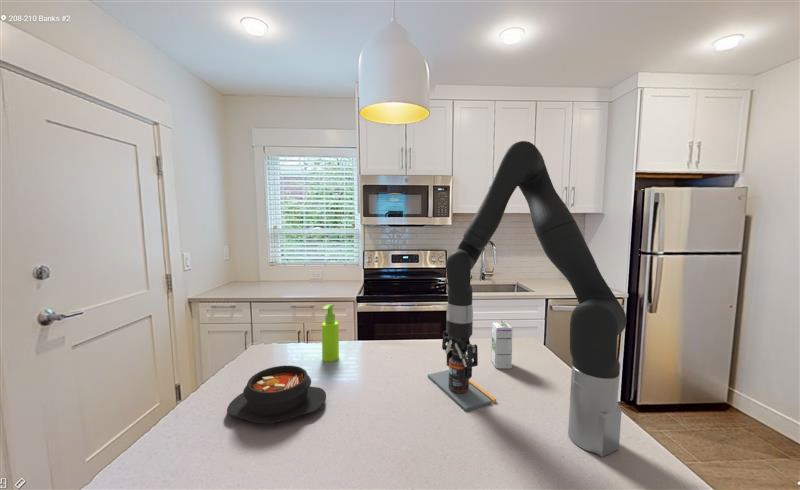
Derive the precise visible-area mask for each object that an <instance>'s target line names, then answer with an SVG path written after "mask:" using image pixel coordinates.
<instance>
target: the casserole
mask: <svg viewBox="0 0 800 490" xmlns="http://www.w3.org/2000/svg"><path fill="white" fill-rule="evenodd" d="M311 379H312V378H311V377H310V376H309V374H308V372H307V371H306V370H305V369H304V368H303V367H300V366H297V365H277V366H273V367H269V368H268V367H267V368H266V369H263V370H260V371H258V372H257V373H254V374H253V375H252V376H251V377H250V378H249V379H248V381H247V384H246V385H245V387H244V389H243V390H242V391H243V392H242V393H240V394H239V395H237V396H235V398H234V399H233V400H232V401H230V402H229V404H228V406H227V409H226V413H227V415H228V416H230V417H234V418H238V419H243V420H247V421H249V422H251V423H254V424H255V423H256V424H274V423H279V422H284V421H286V420H290V419H292V418H295V417H298V416H303V415H307V414H313V413H314V412H316V411H318V410H319V409H320V408H322V407H323V405H324V404H325V403H326V401H327V400H326V399H327V394H326V391H325V390H324V389H323V388H321V387H316V386H311V384H312V380H311Z"/></svg>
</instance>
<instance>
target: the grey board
mask: <svg viewBox="0 0 800 490" xmlns="http://www.w3.org/2000/svg"><path fill="white" fill-rule="evenodd" d="M427 378H428V379H429V380H431V382H432V383H433V384H434V385H435V386H437V387H438V388H439V389H441V391H442V392H443V393H445V395H447V396H448V397H449V399H451V400H452V401H453V402H454V403H455V404H457V406H459V407H460V408H461V409H462V410H463V411H464V412H468V411H471V410H475V409H477V408H481V407H485V406H487V405H490V404H493V403H497V398H496V397H494V395H492V394H490V393H489V392H488V391H486V390H485V389H484V388H482V387H481V386H480V385H478V384H477V383H475V381H473V380H471V378H470V379H469V389H468V391H467V392H464V393H456V392H453V391H451V390H450V389H449V369H446V370H441V371H439V372H438V371H437V372H435V373H434V372H433V373H428V374H427Z"/></svg>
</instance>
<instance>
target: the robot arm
mask: <svg viewBox="0 0 800 490" xmlns="http://www.w3.org/2000/svg"><path fill="white" fill-rule="evenodd" d="M488 188H489V189H488V191H487V193H486V195H485V196H484V198H483V201H482V203H481V205H480V206H479V208H478V210H477V212H476V213H475V215H474V216H473V218H472V219H471V221H470V223H469V224H468V226H467V228H466V230H465V231H464V233H463V238H462V240H461V242H460V243H459V245H458V246H457V248H456V250H455V251H453V252H451V253H450V254H449V255H448V256H447V259H446V264H445V275H446V281H447V286H448V287H447V304H446V305H447V306H446V327H445V329H446V330H443V331H442V339H441V340H442V343H441V344H442V346H441V348H442V350H443V351H445V352H444V353H445V354H446V366H447V367H448V368H449V359H450V358H451V357H452V351H455V352H457V353H458V354H459V356H460V359H462V361H463V363H464V379H470V380H471V378H472V376H473V375H472V374H473V367H475V368H476V367H478V365H479V361H478V359H479V358H478V357H479V356H478V354H479V353H478V345H477V344H472V343H471V342H470V338H471V337H472V336H473V328H474V327H473V324H474V322H473V320H474V308H473V286H472V285H471V276H472V275H471V271H472V269H474V266H475V264H476V263H477V262H478V260H479V258H480V256H481V254H482V252H483V250H484V249H485V247H487V245H488V244H489V242H490V241H491V239H492V237H493V236H494V234H495V233H496V231H497V229H498V227H499V225H500V224H501V221H502V218H503V216H504V214H505V211H506V208H507V206H508V203H509V201H510V199H511V197H512V195H513V194H514V192H515V190H516V189H517V188H519V190H520V191H521V193H522V195H523V196H524V198H525V200H526V202H527V205H528V206H527V207H528V208H529V209H528V210H529V213H530V217H531V222H532V226H533V229H534V232H535V234H536V236H537V240H538V241H539V244H540V245H541V248H542V249H543V252H544V253H545V255H546V257H547V258H548V259H549V261H550V262H551V263H552V264H553V265H554V266H555V268H556V269H558V271H559V272H560V273H561V274H562V275H563V276H564V277H565V279H566V280H567V281H568V284H569V285H570V287H571V288H572V290H573V292H574V294H575V297H576V299H577V302H578V305H576V306H575V307H574V308H573V310H572V313H571V315H570V321H569V353H570V356H571V359H572V360H571V361H572V362H571V375H570V377H571V378H570V395H569V407H568V408H569V409H568V410H569V411H568V426H567V427H568V429H567V430H568V431H567V434H568V437H569V439H570V440H571V441H572V442H573V443H574V444H575V445H576V446H578V447H580V448H581V449H583V450H585V451H587V452H590V453H594V454H596V455H598V456H600V457H602V458H603V457H606V456H608V455H609V454H611V453H613V452H615V451H618V450H619V449H620V438H621V423H622V411H623V410H622V408H621V407H620V406H618V402H619V401H618V399H619V389H620V388H619V387H620V373H621V372H620V371H621V362H620V361H619V360H618V357H617V355H618V353H617V351H618V336H619V335H621V334H622V332H624V330H625V329H626V326H627V314H626V312H625V310H624V308H623V306H622V305H621V302H620V301H619V300H618V298H617V297H616V295H615V294H614V293H613V290H611V288H610V287H609V284H608V283H607V282H606V280H605V279H604V277H603V275H602V273H601V271H600V270H599V266H597V263H596V261H595V258H594V256H593V254H592V252H591V249H590V248H589V246H588V244H587V242H586V240H585V238H584V235H583V233H582V232H581V229H580V227H579V225H578V224H577V222H576V220H575V218H574V216H573V215H572V213H571V211H570V210H569V208H568V207H567V205H566V204H565V201H563V200H562V198H561V196H560V195H559V194H558V192H557V191H556V189H555V187H554V185H553V182H552V179H551V178H550V175H549V172H548V168H547V166H546V163H545V159H544V156H543V155H542V153H541V151H540V150H539V149H538V148H537V146H536V145H535V144H534V143H532V142H530V141H527V140H521V141H517V142H515V143H513V144H511V145H510V146H509V147H508V148H507V149H506V151H505V152H504V154H503V156H502V158H501V160H500V163H499V164H498V167H497V171H496V173H495V175H494V177H493V180H492V182H491V184H490V186H489V187H488ZM464 353H466V355H463V354H464ZM466 358H467V359H468V362H467V361H466Z"/></svg>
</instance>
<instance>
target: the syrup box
mask: <svg viewBox="0 0 800 490" xmlns="http://www.w3.org/2000/svg"><path fill="white" fill-rule="evenodd" d="M512 357H513V327H512V326H511V325H510V324H509V323H508V322H500V321H499V322H491V361H490V362H491V363H492V364H493V366H494V368H495V369H509V370H510V369H512V363H513V362H512V361H513V360H512V359H513V358H512Z"/></svg>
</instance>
